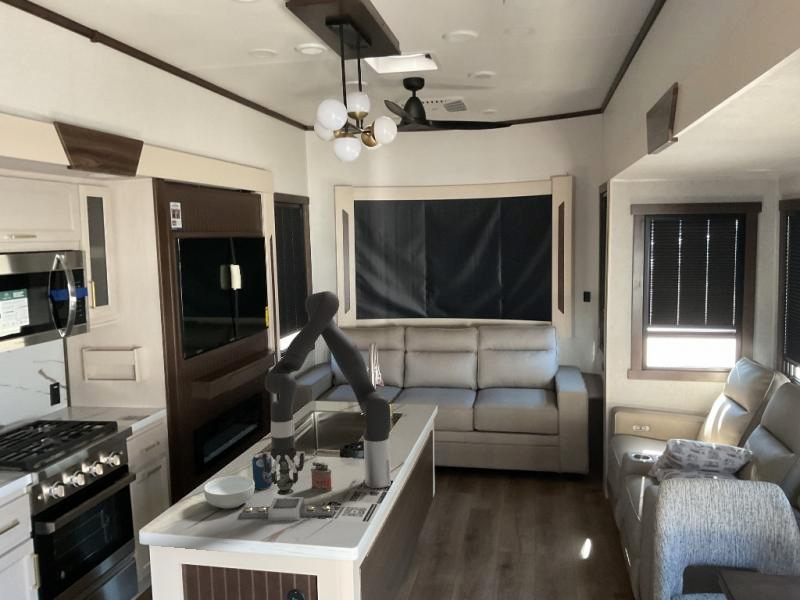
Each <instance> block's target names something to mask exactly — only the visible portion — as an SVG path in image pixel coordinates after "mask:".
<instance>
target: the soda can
mask: <svg viewBox="0 0 800 600" xmlns="http://www.w3.org/2000/svg"><path fill="white" fill-rule="evenodd" d="M264 452H265V451H261V452H256V453H255V454H253V456H252V460H251V461H252V463H251V464H252V465H251V466H252V479H253V480H254V482H255V488H254V489H256V490H268V489H269V488H271V487H272V485H273V484H274V482H272V479H271V472H266V471H265V467H264V462H263V457H262V455H263V453H264ZM272 459H273V458H272V456H270V458H269V463H270V467H273V462H272Z"/></svg>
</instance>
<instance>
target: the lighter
mask: <svg viewBox="0 0 800 600" xmlns="http://www.w3.org/2000/svg"><path fill="white" fill-rule="evenodd" d="M312 466H313V467H311V468H310V471H311V490H312V489H313V491H316V490H317V492H325V493H330V492H332V491H333V487H332V469H331V468H329V464H328V463H325V462H324V461H321V462H319V461H312Z"/></svg>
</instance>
